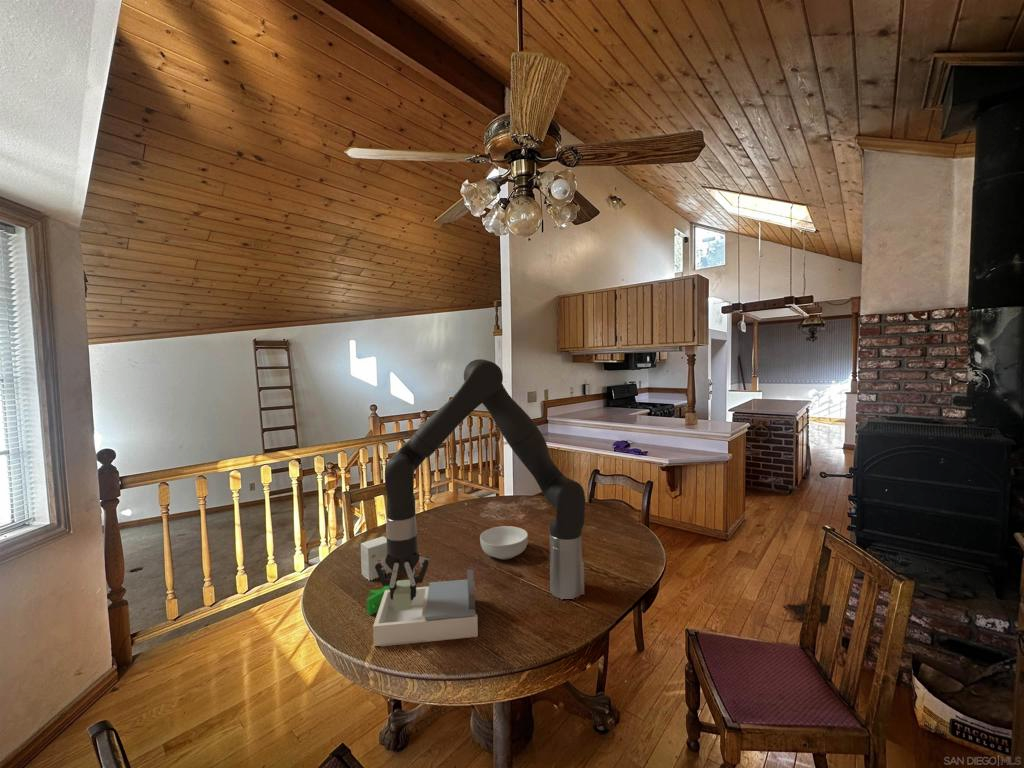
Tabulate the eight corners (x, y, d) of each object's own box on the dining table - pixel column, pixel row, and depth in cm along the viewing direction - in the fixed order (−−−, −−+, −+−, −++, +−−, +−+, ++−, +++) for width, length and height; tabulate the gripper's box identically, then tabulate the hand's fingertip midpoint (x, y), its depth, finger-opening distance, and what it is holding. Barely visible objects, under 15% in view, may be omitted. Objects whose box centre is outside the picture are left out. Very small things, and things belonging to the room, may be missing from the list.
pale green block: (413, 594, 109) (412, 579, 108) (410, 609, 102) (409, 593, 102) (397, 595, 108) (397, 580, 108) (393, 610, 101) (393, 595, 101)
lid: (472, 581, 115) (472, 566, 115) (475, 615, 99) (474, 598, 99) (429, 585, 114) (429, 570, 114) (425, 620, 98) (424, 602, 98)
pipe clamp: (394, 593, 120) (393, 577, 120) (402, 597, 118) (402, 581, 118) (360, 611, 111) (360, 595, 111) (369, 616, 109) (369, 599, 109)
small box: (384, 566, 136) (383, 535, 136) (392, 572, 132) (391, 540, 132) (361, 575, 130) (360, 543, 130) (368, 581, 126) (367, 548, 126)
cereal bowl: (505, 540, 156) (505, 521, 155) (538, 553, 144) (537, 534, 144) (470, 554, 144) (470, 535, 144) (502, 571, 132) (502, 549, 132)
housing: (474, 599, 116) (474, 582, 115) (477, 636, 100) (477, 616, 99) (385, 608, 112) (384, 590, 112) (373, 647, 96) (373, 626, 96)
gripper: (431, 525, 109) (432, 589, 110) (375, 529, 107) (377, 593, 108) (429, 537, 101) (430, 605, 102) (369, 541, 100) (371, 610, 100)
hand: (403, 598), depth 105 cm, fingers closed on pale green block, 3 cm apart
